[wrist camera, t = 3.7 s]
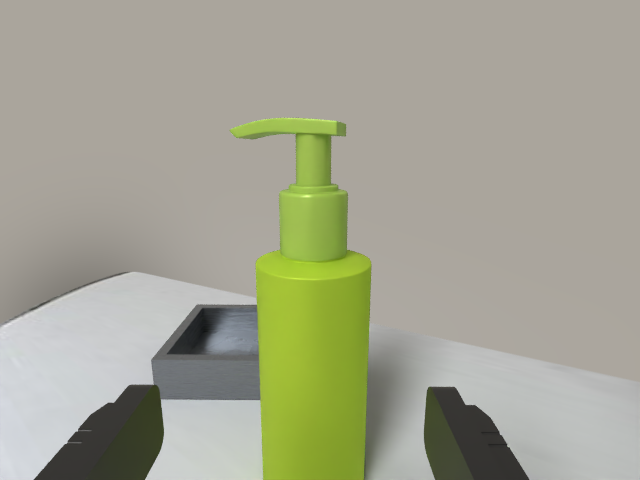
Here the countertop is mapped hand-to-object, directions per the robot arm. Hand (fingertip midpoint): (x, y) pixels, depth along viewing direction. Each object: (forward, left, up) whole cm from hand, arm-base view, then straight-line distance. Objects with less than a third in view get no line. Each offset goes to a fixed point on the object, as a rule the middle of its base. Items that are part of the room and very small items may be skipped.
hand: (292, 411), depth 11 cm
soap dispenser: (0, -9, -11) cm, 14 cm away
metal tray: (+6, -21, -11) cm, 24 cm away
